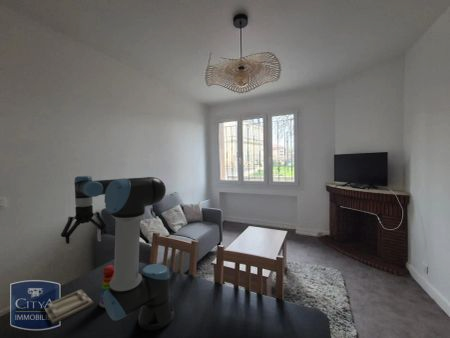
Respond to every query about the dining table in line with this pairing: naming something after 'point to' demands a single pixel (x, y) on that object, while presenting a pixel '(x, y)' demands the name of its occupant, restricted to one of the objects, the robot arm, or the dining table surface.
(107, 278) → the stacking toy
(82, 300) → the rectangular beige tray
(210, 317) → the dining table surface
